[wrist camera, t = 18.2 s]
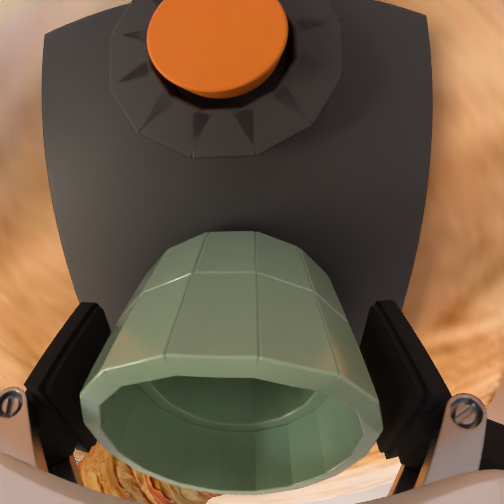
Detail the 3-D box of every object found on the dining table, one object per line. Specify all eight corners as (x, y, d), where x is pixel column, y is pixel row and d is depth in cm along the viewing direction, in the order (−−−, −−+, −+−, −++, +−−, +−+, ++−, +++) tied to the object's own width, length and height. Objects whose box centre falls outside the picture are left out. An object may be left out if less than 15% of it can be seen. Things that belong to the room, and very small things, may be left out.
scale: (65, 32, 7) (18, 18, 4) (407, 16, 7) (450, -6, 4) (123, 368, 14) (105, 411, 11) (366, 368, 14) (382, 411, 11)
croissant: (235, 376, 19) (183, 442, 11) (302, 474, 17) (286, 550, 10) (78, 428, 23) (29, 458, 15) (130, 496, 22) (92, 533, 14)
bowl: (126, 228, 9) (28, 336, 4) (344, 223, 9) (431, 340, 4) (163, 376, 12) (135, 482, 7) (321, 376, 12) (343, 487, 7)
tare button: (167, 7, 5) (148, -16, 4) (279, -1, 5) (285, -27, 4) (167, 103, 6) (146, 100, 5) (282, 97, 6) (290, 91, 5)
